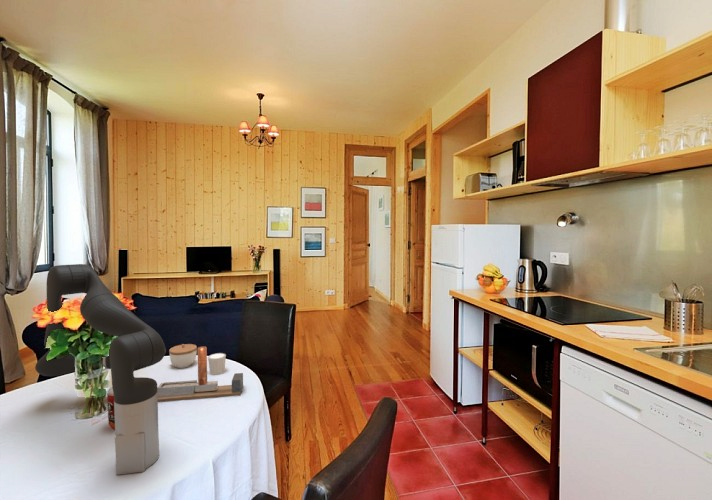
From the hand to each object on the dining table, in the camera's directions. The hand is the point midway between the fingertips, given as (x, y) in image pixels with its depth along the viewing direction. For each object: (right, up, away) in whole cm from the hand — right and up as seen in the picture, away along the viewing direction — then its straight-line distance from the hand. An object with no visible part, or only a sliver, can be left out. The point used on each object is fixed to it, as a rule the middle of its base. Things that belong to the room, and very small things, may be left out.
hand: (161, 355), depth 119 cm
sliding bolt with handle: (+9, -13, +2) cm, 17 cm away
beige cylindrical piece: (+11, -14, +22) cm, 28 cm away
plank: (+13, -15, +3) cm, 20 cm away
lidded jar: (-7, -14, +29) cm, 32 cm away
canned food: (-2, -16, -15) cm, 22 cm away
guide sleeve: (+5, -14, +1) cm, 15 cm away
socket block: (+25, -14, +5) cm, 29 cm away
